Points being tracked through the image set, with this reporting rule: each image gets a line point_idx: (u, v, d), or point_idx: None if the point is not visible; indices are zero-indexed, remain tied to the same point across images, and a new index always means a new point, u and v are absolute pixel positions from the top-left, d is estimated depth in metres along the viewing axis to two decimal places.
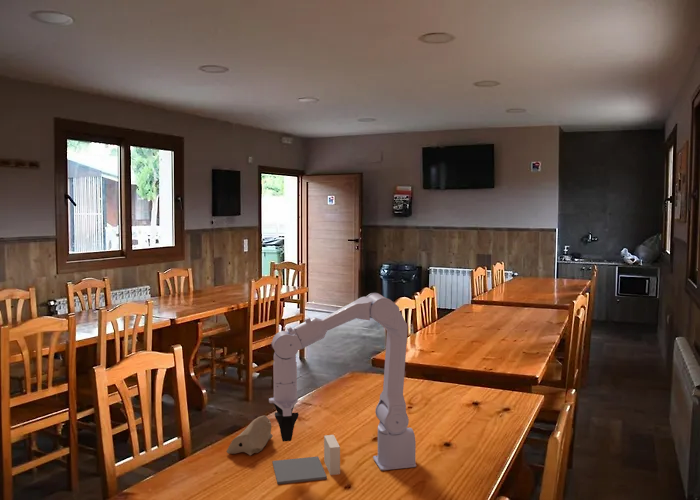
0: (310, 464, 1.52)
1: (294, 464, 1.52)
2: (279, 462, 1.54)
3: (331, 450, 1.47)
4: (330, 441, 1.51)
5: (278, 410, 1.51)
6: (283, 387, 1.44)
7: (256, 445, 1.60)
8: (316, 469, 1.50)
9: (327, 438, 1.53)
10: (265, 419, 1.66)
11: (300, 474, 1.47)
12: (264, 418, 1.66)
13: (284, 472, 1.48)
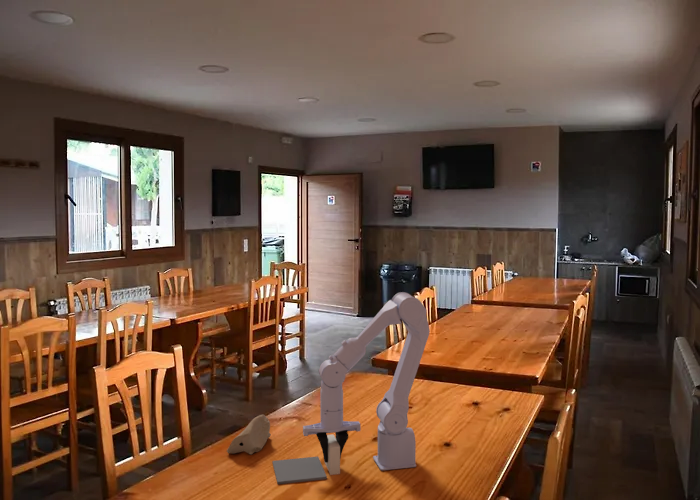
0: (310, 464, 1.52)
1: (294, 464, 1.52)
2: (279, 462, 1.54)
3: (331, 450, 1.47)
4: (330, 441, 1.51)
5: (336, 438, 1.53)
6: None
7: (256, 444, 1.61)
8: (316, 469, 1.50)
9: None
10: (264, 418, 1.67)
11: (300, 474, 1.47)
12: (263, 417, 1.67)
13: (284, 472, 1.48)
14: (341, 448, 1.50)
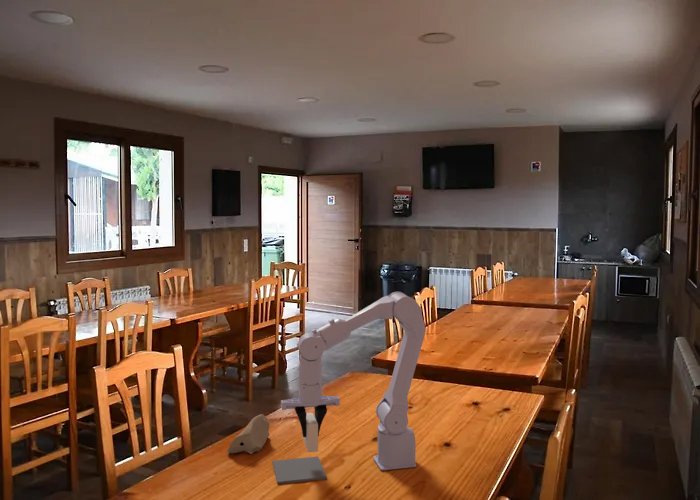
0: (310, 464, 1.52)
1: (294, 464, 1.52)
2: (279, 462, 1.54)
3: (309, 427, 1.46)
4: (309, 418, 1.50)
5: None
6: None
7: (256, 444, 1.61)
8: (316, 469, 1.50)
9: (306, 416, 1.52)
10: (263, 418, 1.67)
11: (300, 474, 1.47)
12: (262, 417, 1.67)
13: (284, 472, 1.48)
14: (320, 423, 1.49)
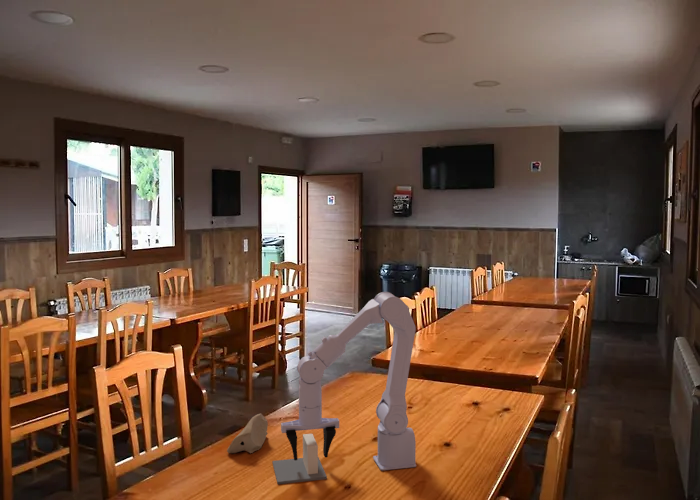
0: None
1: (294, 464, 1.52)
2: (279, 462, 1.54)
3: (309, 449, 1.46)
4: (309, 440, 1.50)
5: (323, 434, 1.53)
6: None
7: (256, 443, 1.62)
8: None
9: (305, 437, 1.52)
10: (262, 417, 1.68)
11: (300, 474, 1.47)
12: (261, 416, 1.68)
13: (284, 472, 1.48)
14: (328, 444, 1.50)
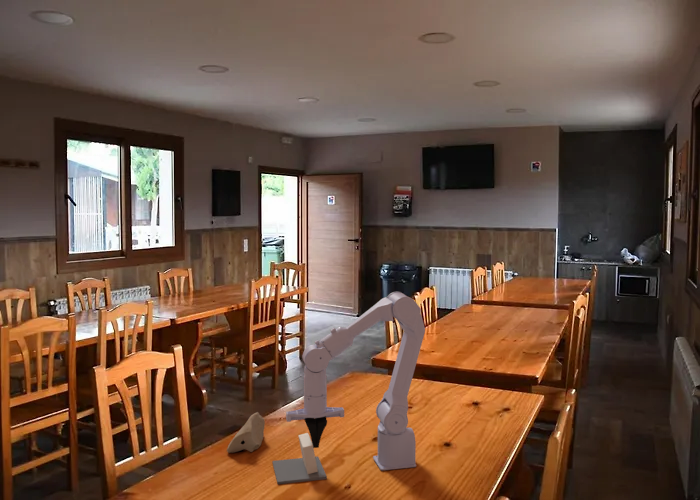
0: None
1: (294, 464, 1.52)
2: (279, 462, 1.54)
3: (304, 449, 1.46)
4: (304, 440, 1.50)
5: None
6: None
7: (256, 441, 1.63)
8: None
9: (301, 437, 1.52)
10: (259, 416, 1.69)
11: (300, 474, 1.47)
12: (258, 415, 1.69)
13: (284, 472, 1.48)
14: (320, 434, 1.49)
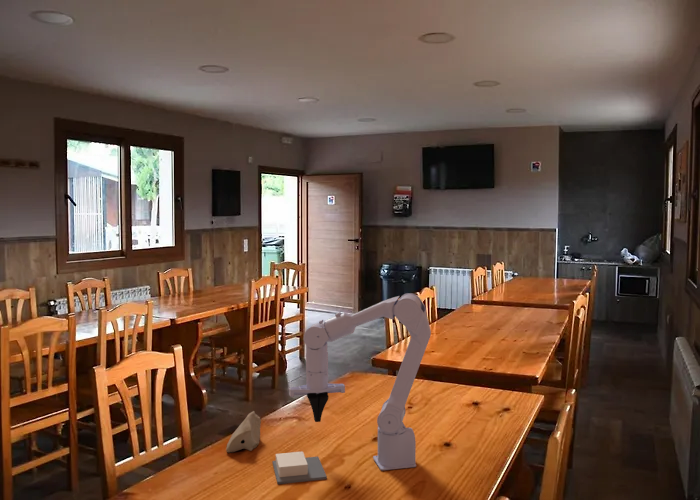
0: (310, 464, 1.52)
1: None
2: None
3: (282, 475, 1.45)
4: (277, 466, 1.49)
5: None
6: (306, 373, 1.56)
7: (254, 440, 1.63)
8: (316, 469, 1.50)
9: (276, 465, 1.51)
10: (255, 415, 1.70)
11: None
12: (254, 414, 1.69)
13: None
14: (321, 409, 1.56)
